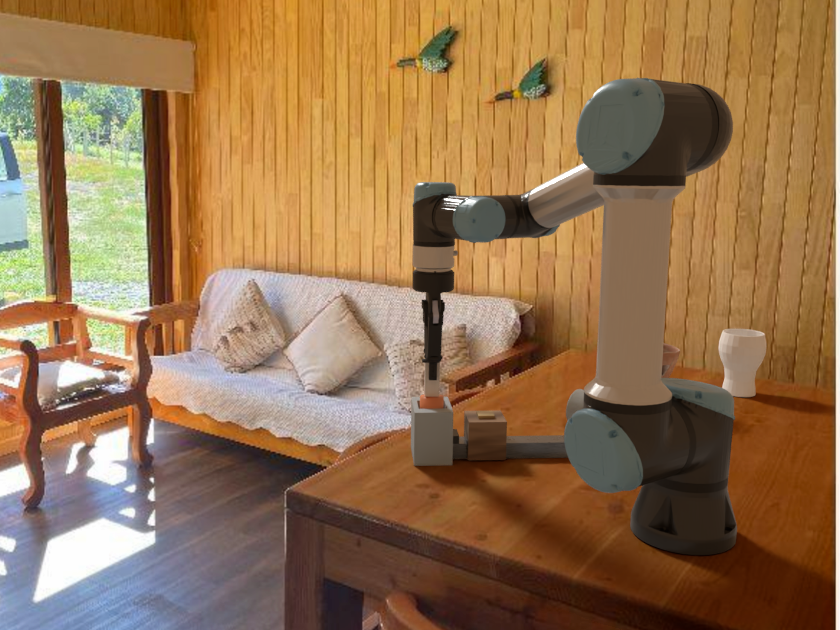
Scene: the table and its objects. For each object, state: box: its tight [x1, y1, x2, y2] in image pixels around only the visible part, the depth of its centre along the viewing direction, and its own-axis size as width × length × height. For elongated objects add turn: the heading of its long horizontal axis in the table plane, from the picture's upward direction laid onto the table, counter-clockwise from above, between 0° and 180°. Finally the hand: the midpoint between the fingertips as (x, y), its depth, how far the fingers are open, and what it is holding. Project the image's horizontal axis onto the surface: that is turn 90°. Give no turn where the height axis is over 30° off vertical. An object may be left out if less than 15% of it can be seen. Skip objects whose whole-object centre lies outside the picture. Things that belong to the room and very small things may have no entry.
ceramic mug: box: [565, 388, 584, 421], centre depth 171 cm, size 11×8×8 cm
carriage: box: [463, 410, 508, 461], centre depth 153 cm, size 7×7×8 cm
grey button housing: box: [410, 396, 454, 467], centre depth 153 cm, size 10×7×10 cm
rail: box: [453, 428, 569, 460], centre depth 154 cm, size 4×24×4 cm, turn 94°
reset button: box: [419, 393, 445, 409], centre depth 152 cm, size 4×4×6 cm
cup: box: [718, 328, 767, 398], centre depth 197 cm, size 11×11×15 cm
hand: (431, 395), depth 151 cm, fingers closed
